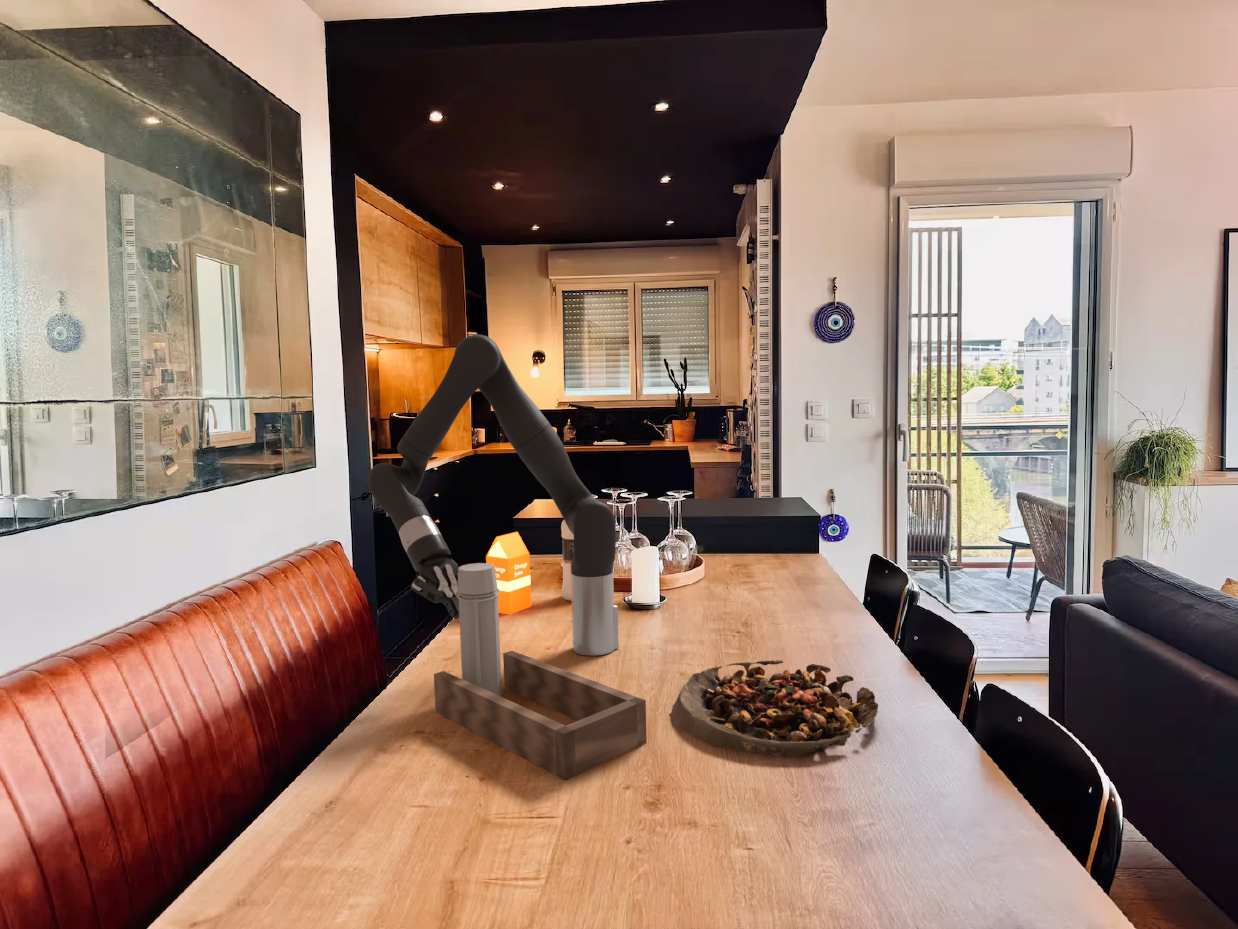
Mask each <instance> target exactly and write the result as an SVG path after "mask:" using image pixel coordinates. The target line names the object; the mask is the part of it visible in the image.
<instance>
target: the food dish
mask: <svg viewBox="0 0 1238 929" xmlns="http://www.w3.org/2000/svg"><path fill="white" fill-rule="evenodd" d="M783 663H784V660H782V659H779V660H778V659H776V660H774V659H773V660H759V661H756V662H751V661H744V662H735V663H730V664H726V667H731V666H741V667H743V668H744V670H745V671H746V675H744V674H745V671H744V670H743V669H738V670H737V671H735V672H734V673H733V675H728V674H727V675H724V676H723V678H722V679H721V678H720V675H719V670H720V669H721V668H723V665H719V666H717V665H716V666H714V667H711V668H710V667H709V668H705V669H704V670H702V671H701V672H697V673H696V672H694V673H693V674H691V675H690V676H689V678H688V680H687V681H686V682H685V683H684V684H683V686H682V688H681V690H680V692H679V694H678V696H677V698H676V700H675V702H674V704H673V705H672V708H671V712H670V713H669V715H668V716H669V717H670V722H671V726H672V727H674V728H677V729H679V730H681V731H683V732H685V733H687V734H688V735H690V736H691V737H692V738H694V739H697V740H699V741H701V742H702V743H704V744H706V745H709V746H711V747H713V748H718V749H719V748H726V749H728V750H731V751H734V752H735V751H736V752H750V753H751V752H755V753H759V754H766V755H771V754H774V755H777V754H779V755H780V754H781V755H786V756H797V755H805V754H811V753H813V752H816V751H823V750H825V749H827V748H828V746H843V745H845V744H846V742H848V741H847V740H848V739H849V738H851V737H852V736H854V735H852V733H853V732H855V733H856V734H858V733H860V732H861V731H862V730H863V728H868V727H869V726H870V725H871V724H872V723H873V722H875V719H876V717H877V714H878V713H879V704H878V703H877V702H876V696H875V694H874V692H873V691H872V690H870V689H869V687H864V686H862V687H860V688H859V689H858V690H857V691H856V700H855V701H856V702H853V697H852V696H851V694H850V693H849V692H847V691H844V692H843V687H844V685H845V684H847V683H849V682H854V680H855V679H854V676H851V675H848V674H846V675H842V676H836V678H835V679H836V681H832V682H830V683H828V684H827V677H826V674H828V673H830V672H831V670H832V669H831V668H830V667H829V666H826V665H820V664H816V663H811V664H808V665H807V666H806V667H805V668H806V669H805V670H803V671H802V670H801V669H800V668H798V669H796V670H795V671H794V672H792V673H791V671H790V670H789V669H785V670H784V671H783V672H775V673H773V674H772V675H771V676H770V678H767V676H765V675H766V674H765V673H766V670H765V669H764V668H763V667H762V666H768V665H771V666H772V665H779V664H783ZM755 664H757V665H758V664H759V665H762V666H753V667H751V666H752V665H755ZM750 667H751V668H750ZM823 672H824V673H826V674H824V673H823ZM811 673H813V674H814V678H813V677H812V676H811V675H810V674H811ZM860 727H861V728H860ZM856 728H857V729H856ZM855 729H856V730H855Z"/></svg>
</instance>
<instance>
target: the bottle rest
mask: <svg viewBox="0 0 1238 929" xmlns="http://www.w3.org/2000/svg"><path fill="white" fill-rule="evenodd" d="M502 654H503V655H502V658H503V680H504V681H503V684H504V689H505V690H506V691H509V692H511V693H514V694H516V695H518V696H520V697H523V698H525V699H527V700H530V701H532V702H535V703H537V704H540V705H541V706H543V707H545V708H547V709H550V710H553V711H555V712H558V713H560V714H562V715H564V716H566V717H569V718H571V719H573V720H576V721H574V722H572V723H569V724H567V725H565V724H562V723H561V722H559V721H556V720H554V719H551V718H549V717H547V716H545V715H543V714H540V713H538V712H536V711H534V710H531V709H529V708H527V707H525V706H523V705H520V704H518V703H515V702H514V701H511V700H509V699H507V698H505V697H502V695H501V696H498V695H496V694H494V693H492V692H489V691H487V690H485V689H483V688H481V687H478V686H476V685H474V684H472V683H469V682H467V681H465V680H463V679H462V677H461V678H460V677H458V676H455V675H454V674H452V673H449V672H446V670H442V671H438V672H435V673H433V685H434V686H433V687H434V704H435V713H437V714H439V715H441V716H443V717H444V718H446V719H447V720H450V721H452V722H453V723H456V724H457V725H459V726H462V727H463V728H465V729H467V730H469V731H471V732H473V733H475V734H477V735H478V736H481V737H482V738H484V739H487V740H488V741H489V742H492V743H494V744H495V745H498V746H499V747H501V748H503V749H505V750H507V751H508V752H511V753H513V754H514V755H517V756H518V757H520V758H522V759H524V760H526V761H527V762H530V763H532V764H533V765H535V766H537V767H539V768H541V769H543V770H545V771H547V772H548V773H550V774H552V775H555V776H556V777H558V778H559V779H562V780H564V781H567V780H569V779H572V778H574V777H576V776H578V775H580V774H582V773H585V772H586V771H589V770H591V769H593V768H595V767H597V766H599V765H601V764H604V763H606V762H608V761H610V760H613V759H615V758H617V757H618V756H621V755H623V754H625V753H627V752H629V751H632V750H634V749H636V748H638V747H640V746H642V745H644V744H647V709H646V708H647V705H646V704H647V700H646V699H644V698H641V697H638V696H636V695H632V694H631V693H626V692H624V691H621V690H619V689H616V688H614V687H611V686H609V685H605V684H603V683H601V682H597V681H595V680H592V679H589V678H587V677H584V676H581V675H578V674H575V673H573V672H572V671H568V670H565V669H563V668H560V667H557V666H554V665H552V664H549V663H546V662H544V661H541V660H538V659H536V658H534V657H530V656H527V655H525V654H522V653H520V652H516V651H514V650H508V651H506V652H503V653H502Z"/></svg>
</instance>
